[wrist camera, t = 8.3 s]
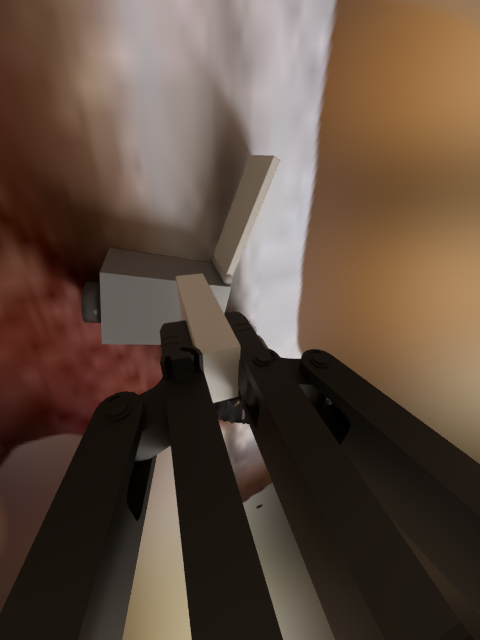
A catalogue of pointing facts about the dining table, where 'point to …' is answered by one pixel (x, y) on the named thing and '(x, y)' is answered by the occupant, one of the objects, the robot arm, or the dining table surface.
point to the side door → (243, 213)
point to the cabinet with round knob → (142, 295)
